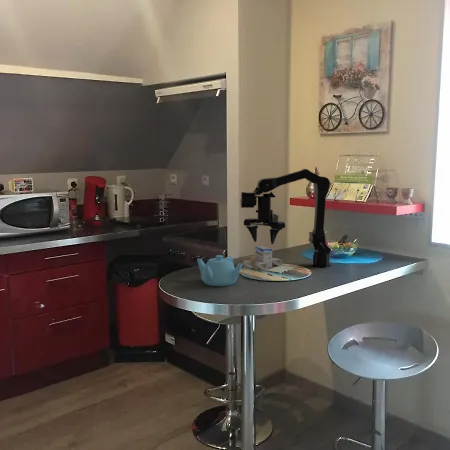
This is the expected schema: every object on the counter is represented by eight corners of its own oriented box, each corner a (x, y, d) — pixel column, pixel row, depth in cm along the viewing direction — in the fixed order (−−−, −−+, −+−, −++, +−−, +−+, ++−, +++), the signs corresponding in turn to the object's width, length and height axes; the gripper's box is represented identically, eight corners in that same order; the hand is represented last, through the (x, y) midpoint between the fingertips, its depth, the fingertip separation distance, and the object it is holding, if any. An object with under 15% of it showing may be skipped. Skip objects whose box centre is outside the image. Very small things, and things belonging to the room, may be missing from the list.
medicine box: (254, 265, 231) (254, 246, 229) (263, 264, 233) (263, 245, 231) (263, 269, 224) (263, 249, 222) (272, 268, 225) (272, 248, 224)
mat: (295, 268, 224) (295, 267, 224) (280, 273, 215) (280, 272, 215) (282, 266, 229) (282, 265, 229) (266, 271, 220) (266, 270, 220)
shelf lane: (282, 266, 229) (282, 258, 229) (266, 271, 220) (266, 263, 219) (257, 261, 238) (257, 254, 237) (240, 266, 228) (240, 258, 228)
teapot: (243, 286, 195) (244, 258, 193) (205, 289, 191) (205, 260, 190) (232, 277, 210) (233, 251, 208) (196, 279, 206) (196, 252, 204)
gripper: (292, 207, 225) (291, 242, 227) (257, 204, 236) (257, 238, 239) (278, 209, 216) (277, 246, 218) (242, 206, 228) (242, 241, 230)
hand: (263, 242), depth 227 cm, fingers open, 9 cm apart
